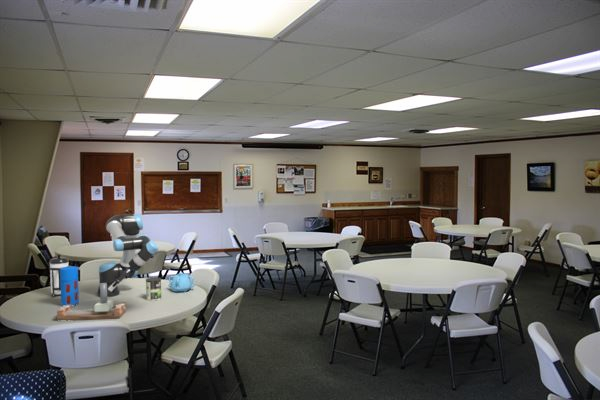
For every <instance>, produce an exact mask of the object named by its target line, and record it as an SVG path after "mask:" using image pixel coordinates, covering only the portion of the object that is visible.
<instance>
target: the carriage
mask: <svg viewBox="0 0 600 400" xmlns="http://www.w3.org/2000/svg"><path fill="white" fill-rule="evenodd" d="M99 285H100V297H99V298H100V300H99V301H98V302H97V303H95V304H94V309H95V312H101V311H109V310H110V309H113V308H114V300H113V299H112V300H111V299H110V300H108V297H107V283H100V284H99Z"/></svg>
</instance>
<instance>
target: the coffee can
mask: <svg viewBox="0 0 600 400" xmlns="http://www.w3.org/2000/svg"><path fill="white" fill-rule="evenodd" d="M145 289H146V291H145V292H146V295H145V296H146V299H145V300H146V301H149V302H150V301H152V302H153V301H159V300H161V299H162V278H161V277H149V278H146V279H145Z"/></svg>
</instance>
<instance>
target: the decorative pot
mask: <svg viewBox="0 0 600 400" xmlns="http://www.w3.org/2000/svg"><path fill="white" fill-rule="evenodd" d="M171 279H172V280H171ZM168 282H169V284H168V286H167V287H168V288H170V289H171V290H172V291H173V293H177V292H183V293H186V292H187V291H190V290H191V289H192V288H194V287H195V284H194V277H193V276H192V275H189V274H187V273H184V272H179V273H177V274H176V275H170V276H169V277H168Z"/></svg>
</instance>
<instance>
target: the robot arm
mask: <svg viewBox="0 0 600 400" xmlns="http://www.w3.org/2000/svg"><path fill="white" fill-rule="evenodd" d="M105 229H106V231H107V232H108V233H109V234H110V235H111V238H112V239H113V241H112V242H113V243H112V247H113V250H114V252H122V258H121V259H120V261H119V263H117V262H116V261H107V262H103V263H102V264H100V265H99V267H98V277H99V282H98V283H99V286H98V289H97V293H96V296H97V297H98V298H100V283H107V298H111V297H115V296H119V295H120V294H121V293H120V288H119V286H120V285H121V284H122V283H123V281H125V280H127V279H133V278H135V277H137V276H138V274H139V270H140V269H141V268H142V266H144V265H146V264H147V262H148V261H149V260H150V259H151V258H152V257H153V256H154V255H156V253H157V251H158V250H159V246H158V244H157V243H155V242H154V241H152V240H151V239H150V237H149V236H148V235H147V234H146V233H145V234H140V231H143V229H144V223H143V219H142V215H141V214H140V213H139V214H138V213H133V214H132V213H131V214H130V213H129V214H115V215H113V216H112V217H110V218H109V219H108V220H107V221H106V224H105ZM139 234H140V235H139ZM136 250H139V251H138V252H137V253H136Z"/></svg>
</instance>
